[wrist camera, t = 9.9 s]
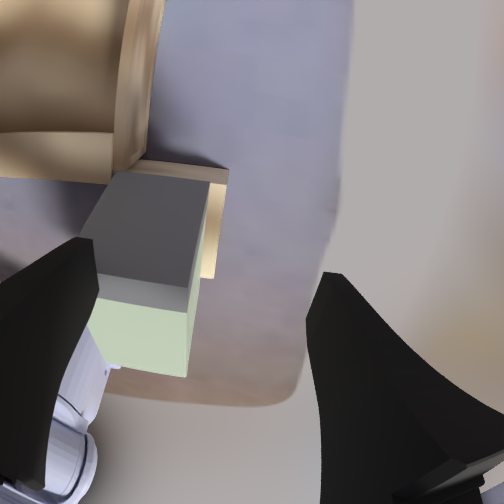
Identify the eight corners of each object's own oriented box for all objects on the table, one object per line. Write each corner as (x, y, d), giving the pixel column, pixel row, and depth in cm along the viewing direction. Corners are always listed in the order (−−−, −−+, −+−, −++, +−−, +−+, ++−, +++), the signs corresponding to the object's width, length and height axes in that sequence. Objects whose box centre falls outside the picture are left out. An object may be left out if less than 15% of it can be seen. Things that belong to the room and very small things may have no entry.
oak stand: (216, 255, 21) (213, 278, 19) (130, 243, 20) (118, 264, 18) (229, 169, 18) (226, 185, 16) (130, 158, 17) (114, 172, 15)
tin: (199, 288, 20) (186, 377, 16) (130, 278, 19) (105, 362, 15) (210, 181, 14) (187, 287, 10) (117, 170, 14) (62, 266, 9)
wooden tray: (145, 159, 17) (120, 186, 14) (-18, 153, 16) (-55, 175, 12) (185, -75, 9) (169, -106, 6) (-2, -35, 8) (-39, -40, 4)
